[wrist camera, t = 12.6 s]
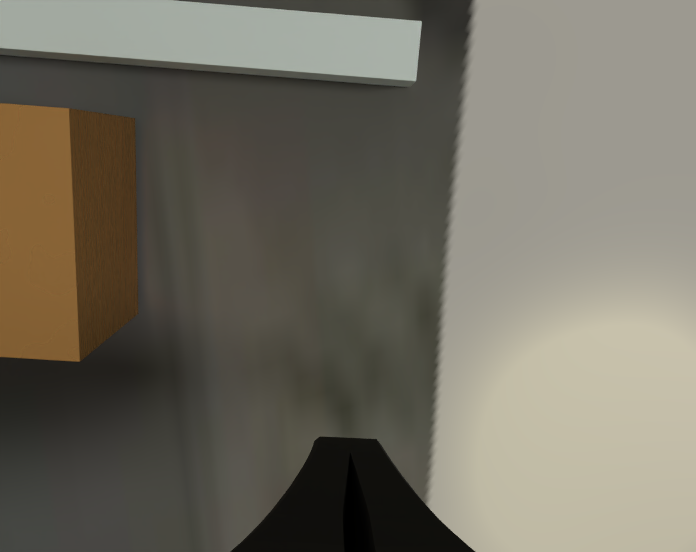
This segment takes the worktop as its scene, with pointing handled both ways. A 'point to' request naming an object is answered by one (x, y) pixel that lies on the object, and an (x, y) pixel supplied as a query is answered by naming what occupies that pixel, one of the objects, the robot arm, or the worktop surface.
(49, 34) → the vise
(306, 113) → the worktop surface
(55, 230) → the vise jaw
